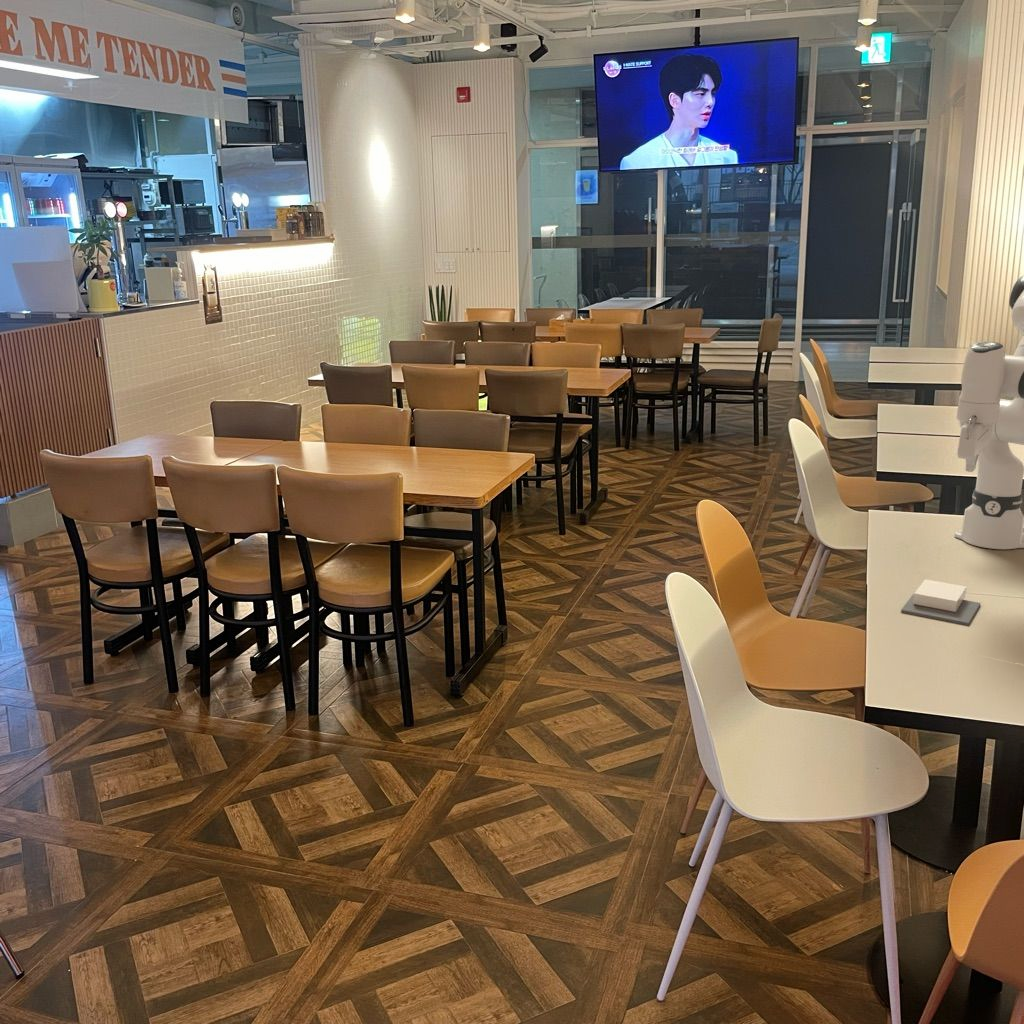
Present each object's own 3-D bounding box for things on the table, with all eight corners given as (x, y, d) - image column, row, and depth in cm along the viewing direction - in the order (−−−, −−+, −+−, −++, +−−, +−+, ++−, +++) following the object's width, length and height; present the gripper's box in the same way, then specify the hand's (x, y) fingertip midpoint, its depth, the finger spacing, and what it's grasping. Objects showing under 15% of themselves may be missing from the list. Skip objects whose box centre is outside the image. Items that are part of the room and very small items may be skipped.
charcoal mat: (915, 593, 232) (915, 590, 232) (980, 605, 225) (980, 602, 225) (900, 612, 221) (901, 609, 221) (968, 625, 214) (968, 622, 214)
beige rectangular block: (925, 579, 232) (914, 593, 223) (966, 586, 227) (956, 601, 218) (923, 590, 233) (912, 604, 224) (965, 598, 228) (955, 613, 219)
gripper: (984, 421, 221) (976, 481, 225) (999, 407, 237) (992, 463, 241) (954, 418, 224) (947, 477, 228) (971, 405, 241) (964, 460, 245)
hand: (970, 470), depth 235 cm, fingers closed
